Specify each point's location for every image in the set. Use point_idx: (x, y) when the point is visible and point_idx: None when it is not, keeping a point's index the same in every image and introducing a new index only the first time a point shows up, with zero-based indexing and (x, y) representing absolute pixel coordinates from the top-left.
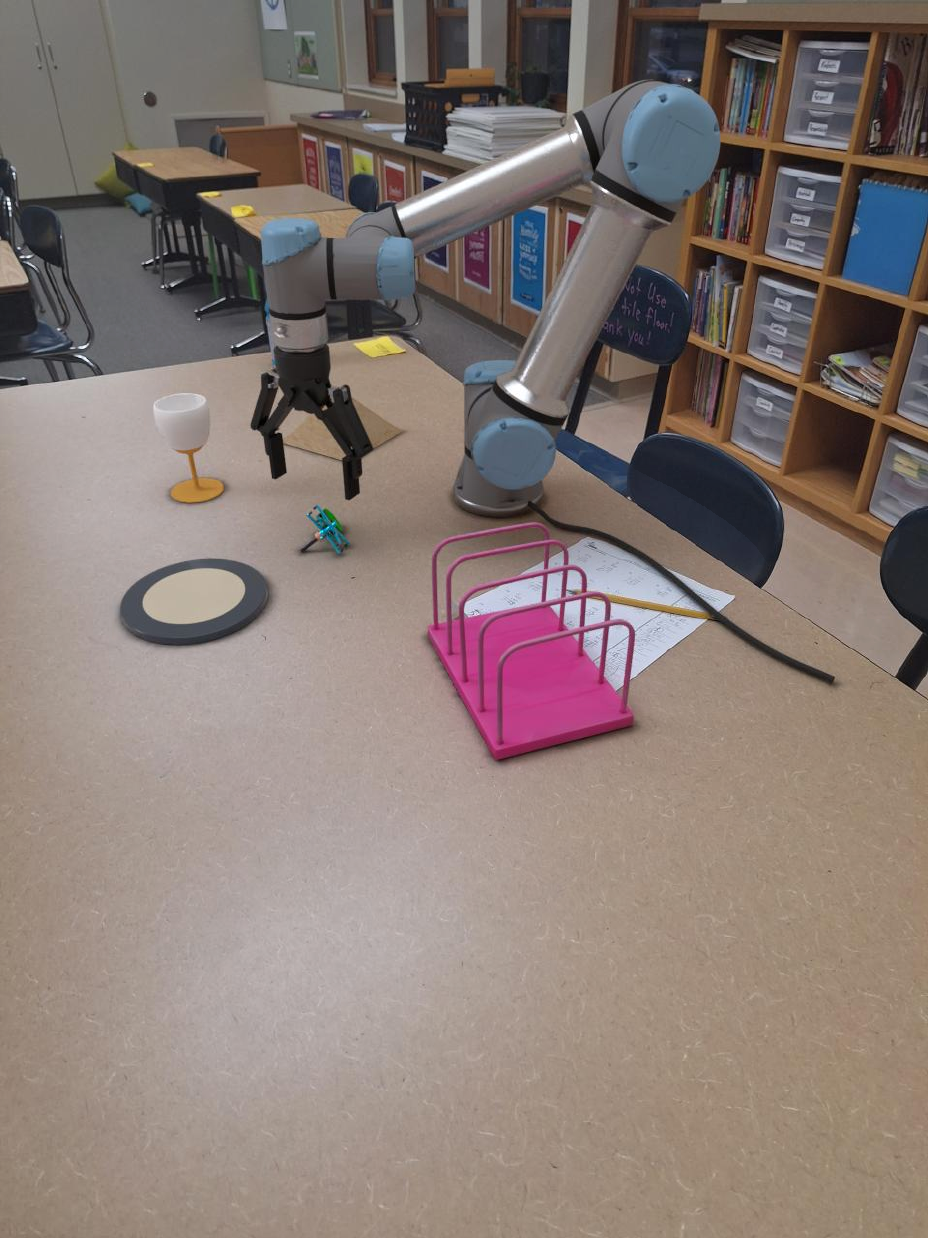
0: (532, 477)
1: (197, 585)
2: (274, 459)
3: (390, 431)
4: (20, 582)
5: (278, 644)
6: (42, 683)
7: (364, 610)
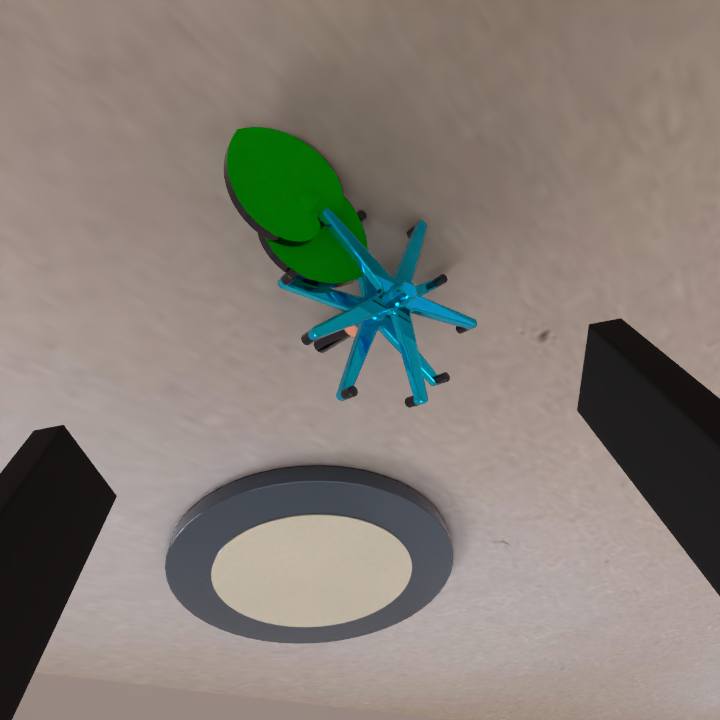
0: None
1: (287, 565)
2: (54, 609)
3: None
4: None
5: (536, 539)
6: (323, 689)
7: None
